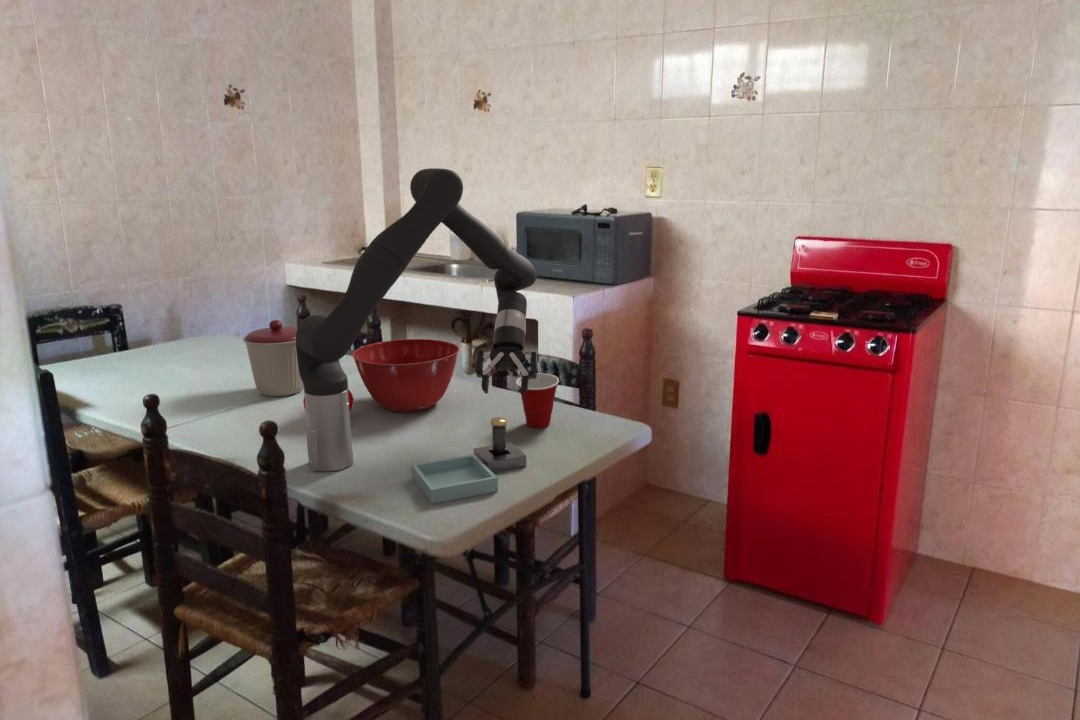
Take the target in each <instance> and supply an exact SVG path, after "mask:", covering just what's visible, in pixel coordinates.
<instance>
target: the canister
mask: <svg viewBox="0 0 1080 720" xmlns="http://www.w3.org/2000/svg"><path fill="white" fill-rule="evenodd" d="M297 328H298V326H297V327H295V326H283V323H282V321H281V320H279V319H274V320H271V321H269V323H268V327H264V328H263V327H262V328H259V329H255V330H253V331H251V332H248V334H247V335H245V336H244V337H243V339H242V341H243V342H244V343H245V346H246V349H247V355H248V360H249V364H250V368H251V372H252V375H253V380H254V381H253V382H254V384H255V387H256V389H257V391H258V393H260V395H263V396H266V397H286V396H292V395H296V394H298V393H300V392H302V391H304V385H303V382H302V380H301V377H300V374H299V367H298V360H297V352H296V331H297Z"/></svg>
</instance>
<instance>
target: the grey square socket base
mask: <svg viewBox="0 0 1080 720" xmlns="http://www.w3.org/2000/svg"><path fill="white" fill-rule="evenodd" d="M473 454H474V455H475V456H476V457H477V458H478V459H479V460H480V461H481V462H482V463H483V464H485V465H486V466H487V467H488V468H489V469H490V470H491V471H492V472H493V473H497V472H502V471H508V470H513V469H518V468H524V467H527V454H525V453H524V452H523V451H521V450H520V449H519V448H518V447H517V446H516V445H515V444H513V443H512V442H509V441H508V442H506V455H500V456H495V457H494V456H493V444H492V445H486V446H480V447H474V448H473Z"/></svg>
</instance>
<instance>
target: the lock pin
mask: <svg viewBox="0 0 1080 720" xmlns="http://www.w3.org/2000/svg"><path fill="white" fill-rule="evenodd" d="M490 426H491V428H492V429H491V431H492V432H491V433H492V434H491V435H492V437H491V439H492V445H493V456H494V457H495V456H500V455H506V443H507V426H508V419H507V418H506V417H502V416H501V417H500V416H499V417H493V418H491V419H490Z"/></svg>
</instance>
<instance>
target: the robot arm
mask: <svg viewBox="0 0 1080 720" xmlns="http://www.w3.org/2000/svg"><path fill="white" fill-rule="evenodd" d="M409 188H410V194H411V196H412V199H413V200H414V202H415V203H414V204H413V205H412V207H411V208H410V209H409V210H408V211H407V212H405V214H404V215H402V217H400V218H398V219H397V220H396V221H395V222H393V223H391V224H390V225H389V226H387V227H386V228H385V229H383V230H381V232H380V233H378V234H377V235H376V236H375V237H374V238H373V239H372V241H371V242H370V243H369V245H368V246H367V247H366V248H365V250H364V251H363V253H361V255H360V256H359V258H358V259H357V261H356V263H355V264H354V268H353V270H352V274H351V277H350V280H349V284H348V287H347V289H346V291H345V293H344V295H343V297H342V298H341V299H340V301H339V302H338V303H337V304H336V306H335V307H334V308H333V310H332V311H331V312H330V313H329V314H328V315H326V316H325V315H322V314H313V315H309V316H306V317H305V318H304V319H302V320H301V322H300V323H299V324H298V326H297V331H296V352H297V360H298V367H299V374H300V377H301V380H302V382H303V385H304V388H303V394H304V396H305V407H306V410H305V417H306V421H305V433H306V436H305V437H306V446H307V458H308V464H309V466H310V469H311V470H312V472H334V471H341V470H343V469H344V470H345V469H346V468H348V467H350V466H352V465H353V463H354V451H353V439H352V438H353V437H352V425H351V423H352V421H351V410H350V407H349V392H348V389H349V381H348V376H347V373H345V372H344V370H343V368H342V366H341V363H340V360H341V359H343V357H345V356H346V354H347V353H348V351H349V350H350V349H351V347H352V346H353V344H354V342H355V341H356V339H357V338H358V336H359V334H360V333H361V331H362V329H363V327H364V325H365V323H367V321H368V319H369V318H370V316H371V315H372V313H373V312H374V310H376V308H377V307H378V305H379V304H381V301H382V300H384V299H383V298H384V297H385V296H386V294H387V293H389V290H390V289H391V288H392V287H393V286H394V284H395V283H396V282H397V281H398V279H399V278H400V276H401V275H402V274H403V272H404V271H405V270H406V269H407V268H408V265H409V264H411V263H410V262H411V261H412V260H413V258H414V257H415V256H416V255H417V253H418V252H419V251H420V249H421V248H422V247H423V245H424V244H425V243H426V241H427V240H428V238H429V237H430V236H431V234H433V232H434V231H435V230H436V229H437V228H438V227H439V226H440V224H443V225H444V226H446V227H447V228H448V229H449V231H451V232H452V233H454V235H455V236H456V237H458V239H459V240H461V242H463V244H465V246H466V247H467V248H468V249H470V251H471V252H472V253H473V254H474V255H475V256H476V257H477V259H478V260H480V261H481V263H482V264H484V266H485V267H487V269H489V270H493V271H494V270H496V271H495V274H494V277H493V283H494V287H495V291H496V297H497V301H498V304H497V312H496V319H495V322H494V332H493V341H492V350H491V351H490V352H484V351H483V350H482V349H481V350H479V351H478V353H477V358H476V363H475V369H474V372H475V375H476V377H477V378H481V385H480V386H481V389H482V392H483V393H484V394H489V386H490V378H492V376H493V375H496V373H497V372H498V371H500V372H506V371H507V372H514V371H516V372H517V374H518V375H520V377H522V381H521V393H520V395H521V394H523V395H524V394H525V392H527V391H528V381H529V379H531V378H533V379H535V378H537V374H538V357H537V352H536V351H532V352H530V353H525V342H526V335H527V334H526V333H527V320H526V319H527V318H526V317H527V309H528V308H527V307H528V303H527V302H528V301H527V298H526V296H525V295H524V294H523V293H521V292H518V291H521V290H525V289H528V288H530V287H531V286H533V285H534V284H535V282H536V281H537V271H536V269H535V267H534V265H533V264H532V262H531V261H530V260H529V259H527V258H526V257H525V256H523V255H521V254H520V253H519V252H517V251H515V250H513V249H512V248H511V247H508V246H507V245H506V243H505V242H504V241H503V240H502V239H501V238H500V237H499V236H498V234H497V233H495V231H493V229H492V228H490V227H489V226H488V225H487V224H485V223H484V222H482V221H481V220H480V219H479V218H477V217H475V216H474V215H473V214H472V213H470V212H469V211H467V210H466V209H465V208H464V207H463V205H461V204H460V201H461V199H462V196H463V193H464V192H463V191H464V183H463V180H462V177H461V176H460V174H459V173H457V172H456V171H454V170H451V169H448V168H436V167H435V168H434V167H433V168H432V167H430V168H424V169H419V171H417V172H416V173H415V174H414V175H413V176H412V178H411V181H410V186H409ZM489 359H490V362H489V364H487V367H486V368H485V369H484V364H485V363H486V362H487V361H488V360H489ZM525 360H527V362H528V364H530V370H529V371H528V370H527V369H526V368H525V367H524V365H523V363H524V362H525ZM483 369H484V370H483Z"/></svg>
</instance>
